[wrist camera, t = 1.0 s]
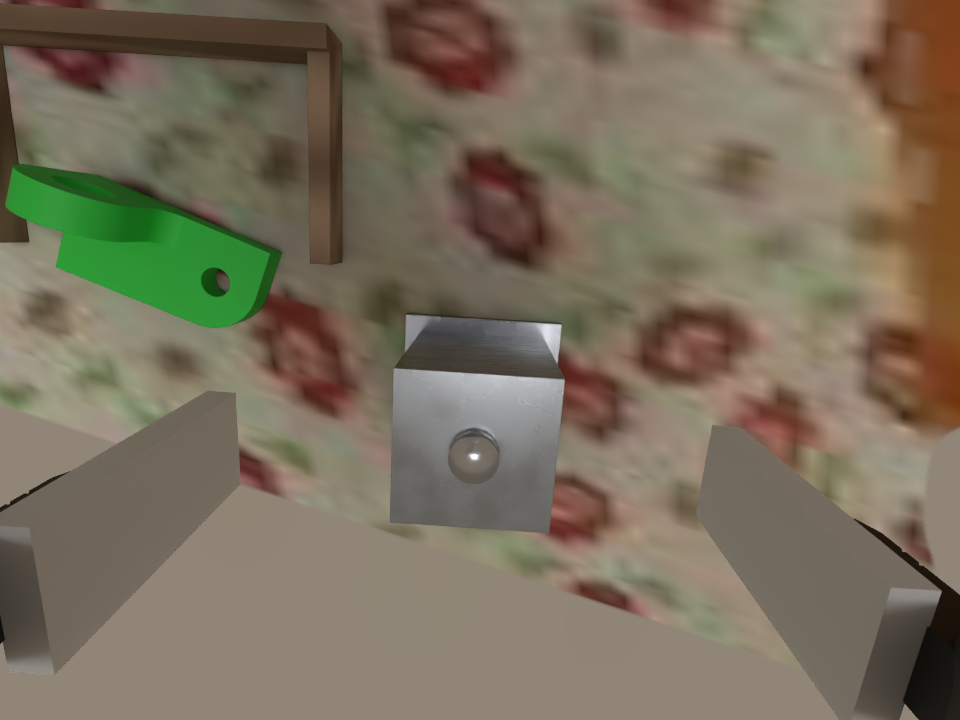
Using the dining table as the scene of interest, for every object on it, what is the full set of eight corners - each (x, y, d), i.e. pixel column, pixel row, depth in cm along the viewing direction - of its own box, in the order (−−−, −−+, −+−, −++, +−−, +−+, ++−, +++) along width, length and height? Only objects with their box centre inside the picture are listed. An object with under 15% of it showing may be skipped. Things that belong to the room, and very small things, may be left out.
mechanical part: (80, 265, 34) (-41, 274, 26) (101, 175, 33) (-19, 157, 25) (255, 336, 35) (188, 365, 27) (282, 252, 34) (220, 257, 26)
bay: (-22, 21, 31) (-76, -2, 28) (342, 43, 31) (326, 23, 28) (10, 240, 34) (-36, 241, 31) (341, 262, 34) (327, 265, 31)
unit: (407, 313, 34) (368, 349, 23) (560, 323, 34) (592, 364, 23) (403, 455, 37) (366, 547, 26) (546, 464, 37) (569, 561, 26)
